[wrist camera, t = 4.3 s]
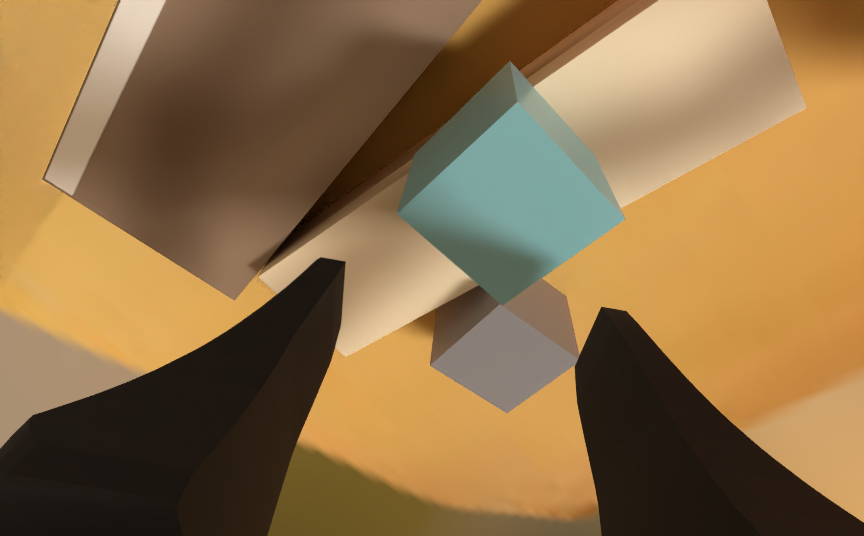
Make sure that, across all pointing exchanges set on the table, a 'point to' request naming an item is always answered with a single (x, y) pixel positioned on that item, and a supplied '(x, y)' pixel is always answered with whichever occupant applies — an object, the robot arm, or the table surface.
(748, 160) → the table surface
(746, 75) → the tan tray
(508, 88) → the teal cube
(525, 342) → the grey cube
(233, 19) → the dock
